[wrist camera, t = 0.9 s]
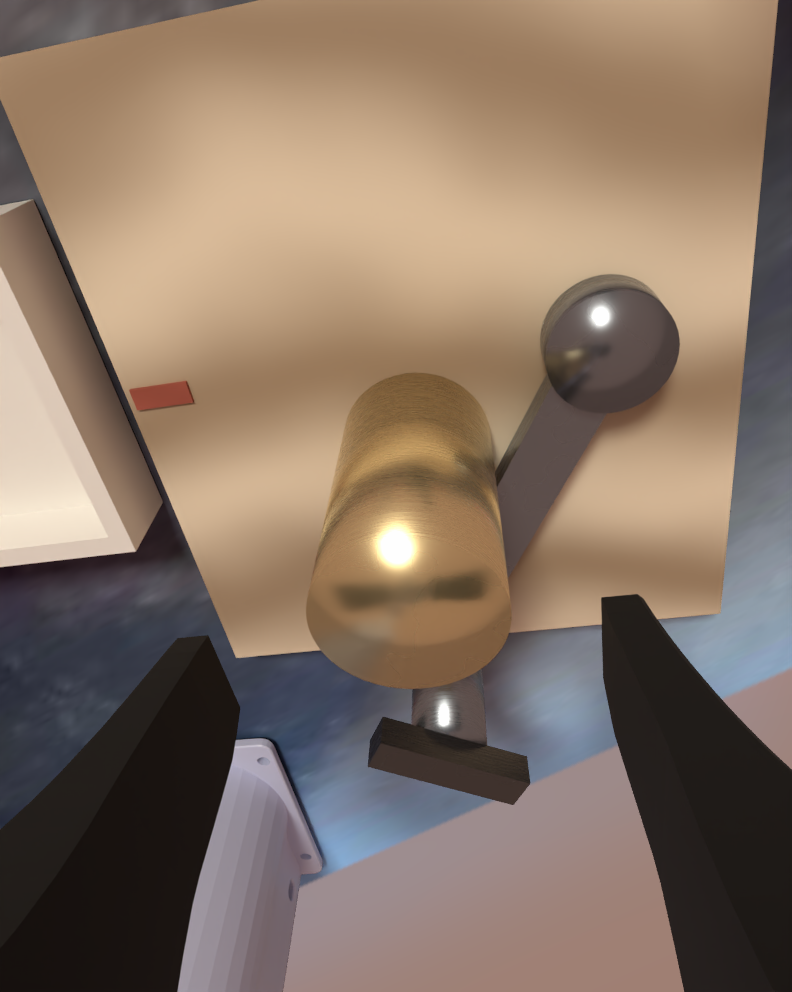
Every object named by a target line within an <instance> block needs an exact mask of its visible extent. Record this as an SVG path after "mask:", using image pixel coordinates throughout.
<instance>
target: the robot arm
mask: <svg viewBox="0 0 792 992" xmlns="http://www.w3.org/2000/svg"><path fill="white" fill-rule="evenodd" d="M601 612H602V648H603V679H604V684H605V689H606V694H607V699H608V704H609V709H610V714H611V719H612V724H613V729H614V733H615V737H616V740H617V743H618V746H619V749H620V753H621V756H622V759H623V762H624V765H625V768H626V771H627V775H628V778H629V781H630V784H631V787H632V791H633V794H634V797H635V800H636V803H637V806H638V809H639V813H640V815H641V819H642V822H643V825H644V828H645V831H646V835H647V838H648V841H649V844H650V847H651V850H652V853H653V857H654V860H655V864H656V868H657V871H658V875H659V879H660V882H661V887H662V891H663V896H664V900H665V905H666V909H667V914H668V918H669V922H670V927H671V932H672V936H673V941H674V945H675V950H676V954H677V959H678V964H679V969H680V973H681V978H682V983H683V987H684V992H792V769H790V768H789V767H788V766H787V765H786V764H785V763H784V762H783V761H782V760H780V758H779V757H777V756H776V755H775V754H774V753H773V752H772V751H771V750H770V749H769V748H768V747H767V746H766V745H765V744H764V743H763V742H762V741H761V740H760V739H759V738H758V737H757V736H756V735H755V734H754V733H753V732H752V731H751V730H750V729H749V728H748V727H747V726H746V725H745V724H744V723H743V722H742V721H741V720H740V719H739V718H738V717H737V715H736V714H735V713H734V712H733V711H732V710H731V709H730V708H729V707H728V706H727V705H726V704H725V703H724V701H723V700H722V699H721V698H720V697H719V696H718V695H717V694H716V693H715V691H714V690H713V689H712V688H711V687H710V686H709V684H708V683H707V682H706V681H705V680H704V679H703V677H702V676H701V675H700V674H699V673H698V671H697V670H696V669H695V668H694V667H693V666H692V664H691V663H690V662H689V661H688V659H687V658H686V657H685V656H684V654H683V653H682V652H681V651H680V649H679V648H678V647H677V645H676V644H675V643H674V642H673V640H672V639H671V638H670V636H669V635H668V634H667V632H666V631H665V629H664V628H663V627H662V625H661V624H660V623H659V621H658V620H657V618H656V617H655V615H654V614H653V612H652V611H651V609H650V608H649V606H648V605H647V603H646V602H645V600H644V598H642V597H641V596H639V595H638V594H632V595H621V596H611V597H601ZM239 713H240V706H239V704H238V702H237V699H236V697H235V695H234V693H233V690H232V688H231V686H230V684H229V681H228V679H227V677H226V675H225V672H224V670H223V668H222V666H221V663H220V661H219V659H218V657H217V654H216V652H215V650H214V648H213V645H212V643H211V641H210V638H209V636H208V635H207V636H197V637H187V638H178V639H177V640H176V641H175V642H174V643H173V644H172V645H171V647H170V648H169V649H168V650H167V651H166V652H165V654H164V655H163V656H162V657H161V658H160V659H159V661H158V662H157V663H156V664H155V665H154V667H153V668H152V669H151V670H150V672H149V673H148V674H147V675H146V676H145V678H144V679H143V680H142V681H141V682H140V684H139V685H138V686H137V687H136V688H135V690H134V691H133V692H132V693H131V694H130V695H129V697H128V698H127V699H126V700H125V701H124V702H123V704H122V705H121V706H120V707H119V708H118V709H117V711H116V712H115V713H114V714H113V715H112V716H111V718H110V719H109V720H108V721H107V722H106V723H105V725H104V726H103V727H102V728H101V729H100V730H99V731H98V732H97V734H96V735H95V736H94V737H93V738H92V739H91V740H90V741H89V742H88V743H87V744H86V745H85V746H84V748H83V749H82V750H81V751H80V752H79V753H78V754H77V755H76V756H75V757H74V758H73V759H72V760H71V762H70V763H69V764H68V765H67V766H66V767H65V768H64V769H63V770H62V771H61V772H60V773H59V774H58V775H57V776H56V777H55V778H54V779H53V780H52V781H51V783H50V784H49V785H47V786H46V787H45V788H44V789H43V790H42V791H41V792H40V793H39V794H38V795H37V796H36V797H35V798H34V799H33V800H32V801H31V802H30V803H29V804H28V805H27V806H26V807H24V808H23V809H22V810H21V811H20V812H19V813H18V814H17V815H16V816H15V817H14V818H13V819H12V820H10V821H9V822H8V823H7V824H6V825H5V826H4V827H3V828H2V829H0V992H283V988H284V981H285V974H286V968H287V962H288V955H289V949H290V943H291V936H292V930H293V923H294V917H295V911H296V904H297V898H298V891H299V885H300V879H301V874H315V873H318V872H320V871H321V870H322V864H323V861H322V858H321V856H320V854H319V851H318V849H317V847H316V844H315V842H314V839H313V837H312V835H311V832H310V830H309V828H308V825H307V823H306V820H305V818H304V816H303V813H302V811H301V809H300V806H299V804H298V801H297V799H296V797H295V794H294V792H293V790H292V787H291V785H290V782H289V780H288V778H287V775H286V773H285V771H284V768H283V766H282V764H281V761H280V759H279V756H278V754H277V752H276V749H275V747H274V745H273V744H272V742H270V741H269V740H267V739H264V738H255V739H242V740H236V735H237V728H238V721H239Z"/></svg>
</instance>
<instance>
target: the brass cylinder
mask: <svg viewBox="0 0 792 992" xmlns="http://www.w3.org/2000/svg"><path fill="white" fill-rule="evenodd" d="M306 619H307V623H308V628H309V630H310V633H311V635H312V637H313V639H314V641H315V642H316V644H317V646H318V647H319V648H320V650H321V651H322V652H323V653H324V654H325V655H326V656H327V657H328V658H329V659H330V660H331V661H332V662H333V663H335V664H336V665H337V666H339V667H340V668H341V669H343V670H345V671H346V672H348V673H350V674H352V675H354V676H356V677H358V678H360V679H363V680H365V681H368V682H371V683H374V684H378V685H383V686H387V687H394V688H404V689H421V688H431V687H438V686H442V685H447V684H450V683H453V682H456V681H459V680H461V679H464V678H466V677H468V676H470V675H472V674H474V673H475V672H477V671H479V670H480V669H482V668H483V667H484V666H486V665H487V664H488V663H489V662H490V661H491V660H492V659H493V658H494V657H495V656H496V655H497V654H498V652H499V651H500V650H501V648H502V647H503V645H504V643H505V641H506V640H507V637H508V634H509V631H510V627H511V621H512V612H511V602H510V593H509V585H508V576H507V568H506V560H505V551H504V543H503V535H502V526H501V518H500V510H499V501H498V493H497V485H496V476H495V468H494V460H493V451H492V443H491V434H490V428H489V423H488V420H487V417H486V414H485V412H484V410H483V408H482V407H481V405H480V404H479V402H478V401H477V400H476V398H475V397H474V396H473V395H472V394H471V393H470V392H469V391H467V390H466V389H465V388H464V387H462V386H461V385H459V384H457V383H456V382H454V381H452V380H449V379H447V378H445V377H441V376H438V375H434V374H428V373H404V374H399V375H395V376H392V377H389V378H386V379H384V380H382V381H380V382H378V383H376V384H374V385H373V386H371V387H370V388H368V389H367V390H366V391H365V392H364V393H363V394H362V395H361V396H360V397H359V398H358V399H357V400H356V402H355V403H354V405H353V406H352V408H351V410H350V412H349V414H348V417H347V420H346V424H345V428H344V433H343V437H342V442H341V446H340V451H339V455H338V460H337V465H336V469H335V474H334V478H333V483H332V487H331V492H330V496H329V501H328V505H327V510H326V515H325V519H324V524H323V528H322V533H321V537H320V542H319V546H318V551H317V556H316V560H315V565H314V569H313V574H312V578H311V583H310V587H309V592H308V596H307V603H306Z"/></svg>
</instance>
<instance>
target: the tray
mask: <svg viewBox="0 0 792 992" xmlns="http://www.w3.org/2000/svg"><path fill="white" fill-rule="evenodd" d="M162 503H163V501H162V498H161V496H160V494H159V491H158V489H157V487H156V484H155V482H154V480H153V477H152V475H151V473H150V470H149V468H148V466H147V463H146V461H145V459H144V457H143V454H142V452H141V450H140V447H139V445H138V443H137V440H136V438H135V436H134V433H133V431H132V429H131V426H130V424H129V422H128V419H127V417H126V415H125V412H124V410H123V408H122V405H121V403H120V401H119V398H118V396H117V394H116V391H115V389H114V387H113V384H112V382H111V380H110V377H109V375H108V373H107V370H106V368H105V366H104V363H103V361H102V359H101V356H100V354H99V352H98V349H97V347H96V345H95V342H94V340H93V338H92V335H91V333H90V331H89V328H88V326H87V324H86V321H85V319H84V317H83V314H82V312H81V310H80V307H79V305H78V303H77V300H76V298H75V296H74V293H73V291H72V289H71V286H70V284H69V282H68V279H67V277H66V275H65V272H64V270H63V268H62V265H61V263H60V261H59V258H58V256H57V254H56V251H55V249H54V247H53V244H52V242H51V240H50V237H49V235H48V233H47V230H46V228H45V226H44V223H43V221H42V219H41V216H40V214H39V212H38V210H37V207H36V205H35V203H34V200H33V199H32V200H27V201H21V202H16V203H11V204H5V205H0V567H6V566H14V565H23V564H32V563H40V562H49V561H58V560H66V559H75V558H84V557H93V556H101V555H110V554H119V553H127V552H136V551H137V549H138V547H139V545H140V543H141V541H142V540H143V538H144V536H145V534H146V532H147V531H148V529H149V527H150V525H151V523H152V521H153V520H154V518H155V516H156V514H157V512H158V510H159V509H160V507H161V505H162Z"/></svg>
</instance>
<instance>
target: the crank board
mask: <svg viewBox="0 0 792 992" xmlns="http://www.w3.org/2000/svg"><path fill="white" fill-rule="evenodd" d="M777 7H778V0H258V1H254V2H249V3H245V4H240V5H236V6H231V7H227V8H222V9H218V10H213V11H208V12H204V13H199V14H195V15H190V16H186V17H181V18H177V19H172V20H168V21H163V22H159V23H154V24H150V25H145V26H140V27H136V28H131V29H127V30H122V31H118V32H113V33H109V34H104V35H100V36H95V37H91V38H86V39H82V40H77V41H73V42H68V43H63V44H59V45H54V46H50V47H45V48H41V49H36V50H32V51H27V52H23V53H18V54H14V55H9V56H5V57H0V99H1V101H2V104H3V106H4V109H5V111H6V113H7V116H8V118H9V120H10V123H11V125H12V128H13V130H14V132H15V135H16V137H17V139H18V142H19V144H20V146H21V149H22V151H23V154H24V156H25V158H26V161H27V163H28V165H29V168H30V170H31V173H32V175H33V177H34V180H35V182H36V184H37V187H38V189H39V191H40V194H41V196H42V199H43V201H44V203H45V206H46V208H47V210H48V213H49V215H50V218H51V220H52V222H53V225H54V227H55V229H56V232H57V234H58V236H59V239H60V241H61V244H62V246H63V248H64V251H65V253H66V255H67V258H68V260H69V263H70V265H71V267H72V270H73V272H74V274H75V277H76V279H77V281H78V284H79V286H80V289H81V291H82V293H83V296H84V298H85V300H86V303H87V305H88V308H89V310H90V312H91V315H92V317H93V319H94V322H95V324H96V326H97V329H98V331H99V334H100V336H101V338H102V341H103V343H104V345H105V348H106V350H107V353H108V355H109V357H110V360H111V362H112V364H113V367H114V369H115V372H116V374H117V376H118V379H119V381H120V383H121V386H122V388H123V390H124V393H125V395H126V398H127V400H128V402H129V405H130V407H131V409H132V412H133V414H134V417H135V419H136V421H137V424H138V426H139V428H140V431H141V433H142V435H143V438H144V440H145V443H146V445H147V447H148V450H149V452H150V454H151V457H152V459H153V462H154V464H155V466H156V469H157V471H158V473H159V476H160V478H161V480H162V483H163V485H164V488H165V490H166V492H167V495H168V497H169V499H170V502H171V504H172V507H173V509H174V511H175V514H176V516H177V518H178V521H179V523H180V525H181V528H182V530H183V533H184V535H185V537H186V540H187V542H188V544H189V547H190V549H191V552H192V554H193V556H194V559H195V561H196V563H197V566H198V568H199V570H200V573H201V575H202V578H203V580H204V582H205V585H206V587H207V589H208V592H209V594H210V597H211V599H212V601H213V604H214V606H215V608H216V611H217V613H218V615H219V618H220V620H221V623H222V625H223V627H224V630H225V632H226V634H227V637H228V639H229V642H230V644H231V646H232V649H233V651H234V653H235V656H236V658H241V657H252V656H263V655H274V654H285V653H295V652H306V651H317V650H320V648H319V647H318V646H317V644H316V642H315V641H314V639H313V637H312V635H311V633H310V630H309V628H308V623H307V619H306V603H307V596H308V592H309V587H310V583H311V578H312V574H313V569H314V565H315V560H316V556H317V551H318V546H319V542H320V537H321V533H322V528H323V524H324V519H325V515H326V510H327V505H328V501H329V496H330V492H331V487H332V483H333V478H334V474H335V469H336V465H337V460H338V455H339V451H340V446H341V442H342V437H343V433H344V428H345V424H346V420H347V417H348V414H349V412H350V410H351V408H352V406H353V405H354V403H355V402H356V400H357V399H358V398H359V397H360V396H361V395H362V394H363V393H364V392H365V391H366V390H367V389H368V388H370V387H371V386H373V385H374V384H376V383H378V382H380V381H382V380H384V379H386V378H389V377H392V376H395V375H399V374H404V373H428V374H434V375H438V376H441V377H445V378H447V379H449V380H452V381H454V382H456V383H457V384H459V385H461V386H462V387H464V388H465V389H466V390H467V391H469V392H470V393H471V394H472V395H473V396H474V397H475V398H476V400H477V401H478V402H479V404H480V405H481V407H482V408H483V410H484V412H485V414H486V417H487V420H488V423H489V428H490V434H491V443H492V451H493V460H494V468H495V471H496V469H497V467H498V465H499V463H500V461H501V459H502V458H503V456H504V454H505V452H506V450H507V448H508V446H509V444H510V442H511V440H512V439H513V437H514V435H515V433H516V431H517V429H518V427H519V425H520V423H521V421H522V420H523V418H524V416H525V414H526V412H527V410H528V408H529V406H530V404H531V403H532V401H533V399H534V397H535V395H536V393H537V391H538V389H539V387H540V385H541V384H542V382H543V380H544V378H545V376H546V374H547V370H546V367H545V364H544V360H543V357H542V353H541V348H540V334H541V328H542V324H543V321H544V319H545V317H546V314H547V312H548V311H549V309H550V307H551V306H552V305H553V303H554V302H555V301H556V300H557V299H558V297H559V296H560V295H561V294H562V293H564V292H565V291H566V290H567V289H569V288H570V287H572V286H573V285H575V284H576V283H578V282H580V281H583V280H585V279H588V278H590V277H594V276H598V275H606V274H619V275H625V276H629V277H632V278H635V279H637V280H639V281H641V282H643V283H644V284H645V285H647V286H648V287H649V288H650V289H651V290H652V291H654V293H655V294H656V295H657V297H658V298H659V299H660V301H661V302H662V303H663V305H664V306H665V307H666V309H667V310H668V311H669V313H670V314H671V315H672V317H673V319H674V321H675V323H676V326H677V329H678V332H679V338H680V348H679V355H678V359H677V363H676V365H675V368H674V370H673V372H672V374H671V375H670V377H669V379H668V380H667V381H666V383H665V384H664V385H663V386H662V387H661V389H660V390H659V391H658V392H656V393H655V394H654V395H653V396H652V397H650V398H649V399H648V400H646V401H645V402H643V403H641V404H639V405H637V406H635V407H633V408H630V409H628V410H624V411H621V412H615V413H607V414H606V416H605V418H604V419H603V421H602V423H601V424H600V426H599V428H598V429H597V431H596V433H595V434H594V436H593V438H592V439H591V441H590V443H589V444H588V446H587V448H586V449H585V451H584V453H583V454H582V456H581V458H580V459H579V461H578V463H577V464H576V466H575V468H574V469H573V471H572V473H571V474H570V476H569V478H568V479H567V481H566V483H565V484H564V486H563V488H562V489H561V491H560V493H559V494H558V496H557V498H556V499H555V501H554V503H553V504H552V506H551V508H550V509H549V511H548V513H547V514H546V516H545V518H544V519H543V521H542V523H541V524H540V526H539V528H538V529H537V531H536V533H535V534H534V536H533V538H532V539H531V541H530V543H529V544H528V546H527V548H526V549H525V551H524V553H523V554H522V556H521V558H520V559H519V561H518V563H517V564H516V566H515V568H514V569H513V571H512V573H511V574H510V576H509V578H508V585H509V593H510V602H511V612H512V621H511V627H510V631H509V633H513V632H524V631H535V630H546V629H557V628H567V627H578V626H589V625H600V624H602V612H601V597H611V596H621V595H632V594H638V595H639V596H641V597H642V598H644V600H645V602H646V603H647V605H648V606H649V608H650V609H651V611H652V612H653V614H654V615H655V617H656V618H657V619H665V618H676V617H687V616H698V615H709V614H720V611H721V600H722V590H723V579H724V568H725V558H726V547H727V537H728V526H729V515H730V505H731V494H732V484H733V473H734V463H735V452H736V441H737V431H738V420H739V410H740V399H741V388H742V378H743V367H744V357H745V346H746V335H747V325H748V314H749V304H750V293H751V282H752V272H753V261H754V251H755V240H756V229H757V219H758V208H759V198H760V187H761V176H762V166H763V155H764V145H765V134H766V123H767V113H768V102H769V92H770V81H771V71H772V60H773V49H774V39H775V28H776V18H777Z"/></svg>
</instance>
